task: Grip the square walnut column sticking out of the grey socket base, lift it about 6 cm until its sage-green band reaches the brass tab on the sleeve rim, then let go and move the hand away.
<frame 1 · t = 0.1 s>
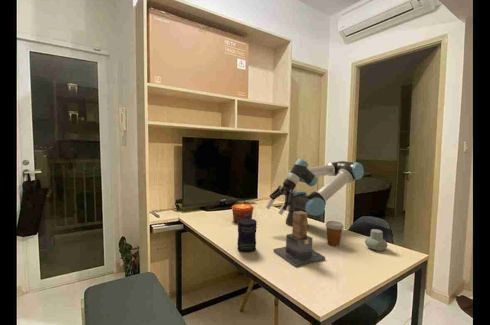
hand: (273, 211, 155), 15 cm above the table, fingers open, 13 cm apart
food container: (242, 221, 185), on the table
disposable coffee cup: (333, 244, 146), on the table
column: (299, 232, 129), point 12 cm above the table, slide at 0.0 cm
air freshener: (375, 249, 141), on the table
storage jar: (246, 249, 136), on the table
grey socket base: (298, 255, 129), on the table
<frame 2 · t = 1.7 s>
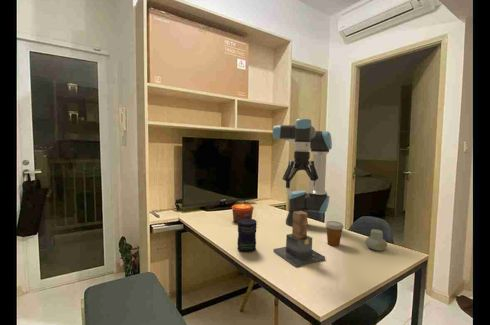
hand: (300, 194, 128), 31 cm above the table, fingers open, 13 cm apart
nothing on the table moved.
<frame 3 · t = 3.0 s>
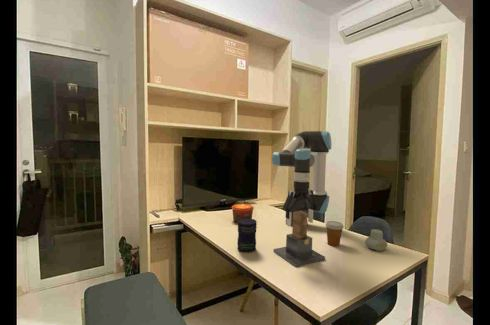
hand: (299, 223, 128), 17 cm above the table, fingers open, 13 cm apart
nothing on the table moved.
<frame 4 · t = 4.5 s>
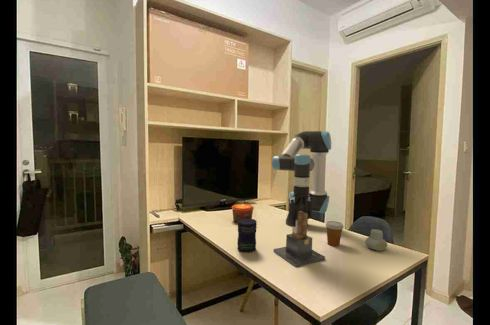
hand: (299, 231, 129), 12 cm above the table, fingers closed on column, 5 cm apart
column: (299, 232, 129), point 12 cm above the table, slide at 0.0 cm, touching gripper
everything else where it was.
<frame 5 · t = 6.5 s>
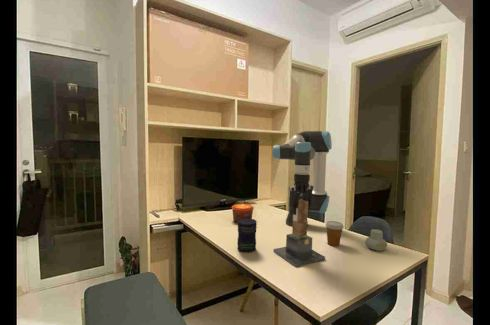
hand: (300, 220, 128), 18 cm above the table, fingers closed on column, 5 cm apart
column: (300, 220, 128), point 18 cm above the table, slide at 6.0 cm, touching gripper
everything else where it was.
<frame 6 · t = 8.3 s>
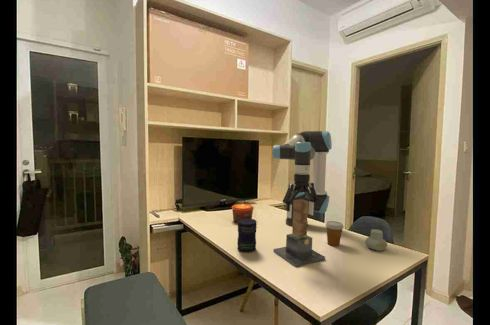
hand: (300, 216, 128), 20 cm above the table, fingers open, 13 cm apart
column: (300, 220, 128), point 18 cm above the table, slide at 6.0 cm
everything else where it was.
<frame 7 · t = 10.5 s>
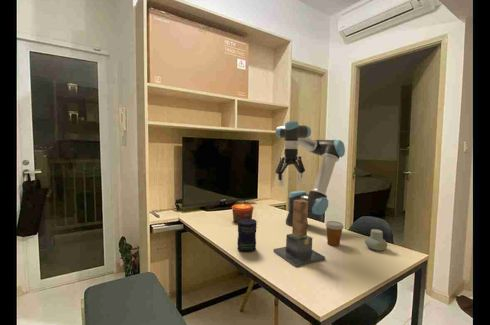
hand: (290, 184, 151), 32 cm above the table, fingers open, 13 cm apart
nothing on the table moved.
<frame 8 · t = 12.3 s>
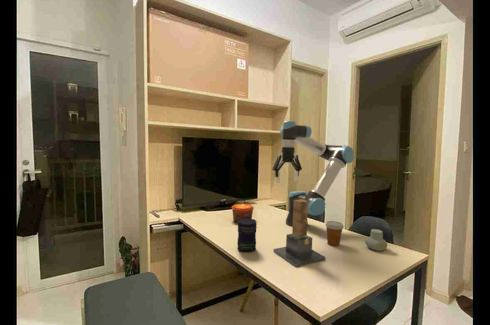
hand: (287, 181, 157), 33 cm above the table, fingers open, 13 cm apart
nothing on the table moved.
at the end: column slide at 6.0 cm; the gripper is holding nothing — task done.
